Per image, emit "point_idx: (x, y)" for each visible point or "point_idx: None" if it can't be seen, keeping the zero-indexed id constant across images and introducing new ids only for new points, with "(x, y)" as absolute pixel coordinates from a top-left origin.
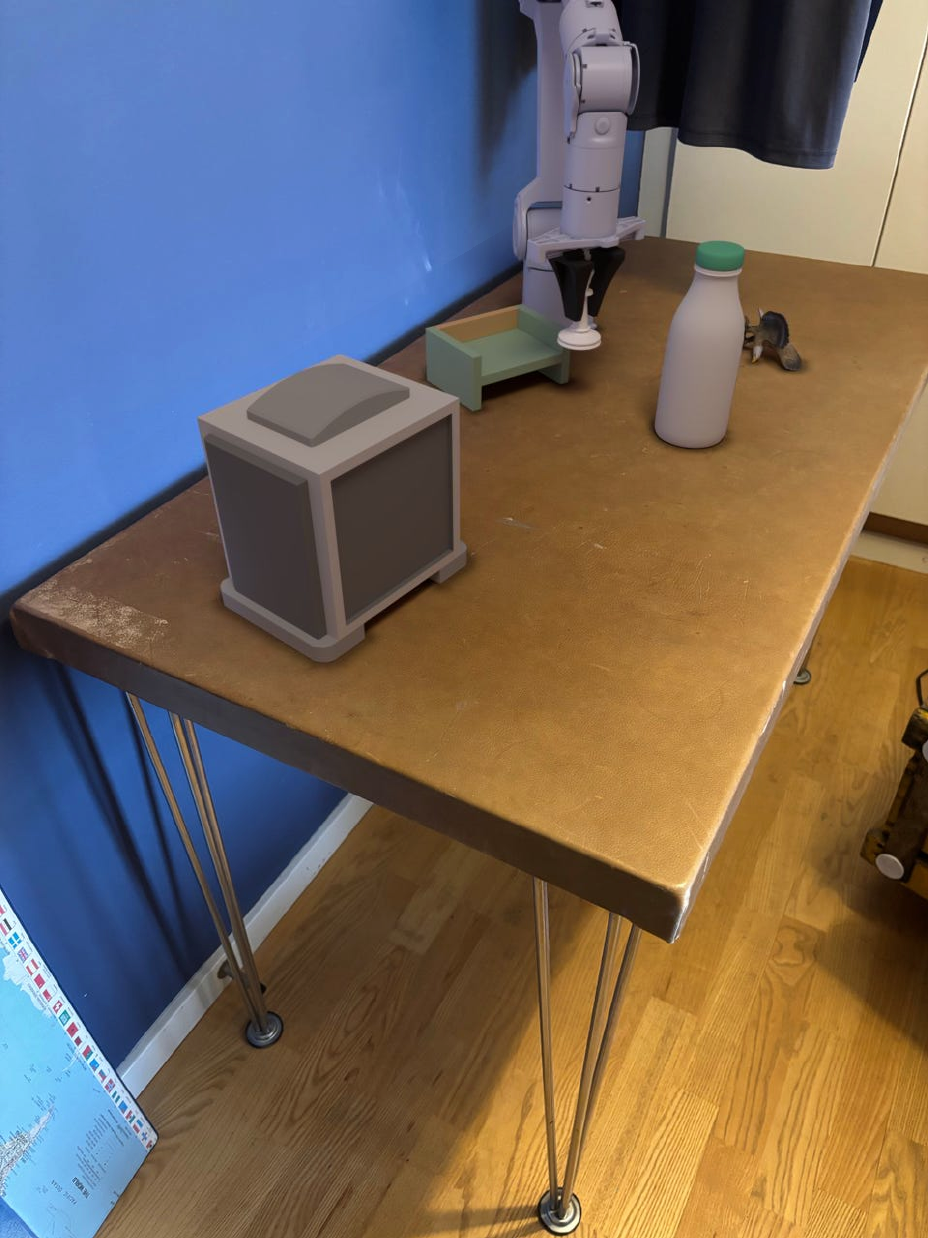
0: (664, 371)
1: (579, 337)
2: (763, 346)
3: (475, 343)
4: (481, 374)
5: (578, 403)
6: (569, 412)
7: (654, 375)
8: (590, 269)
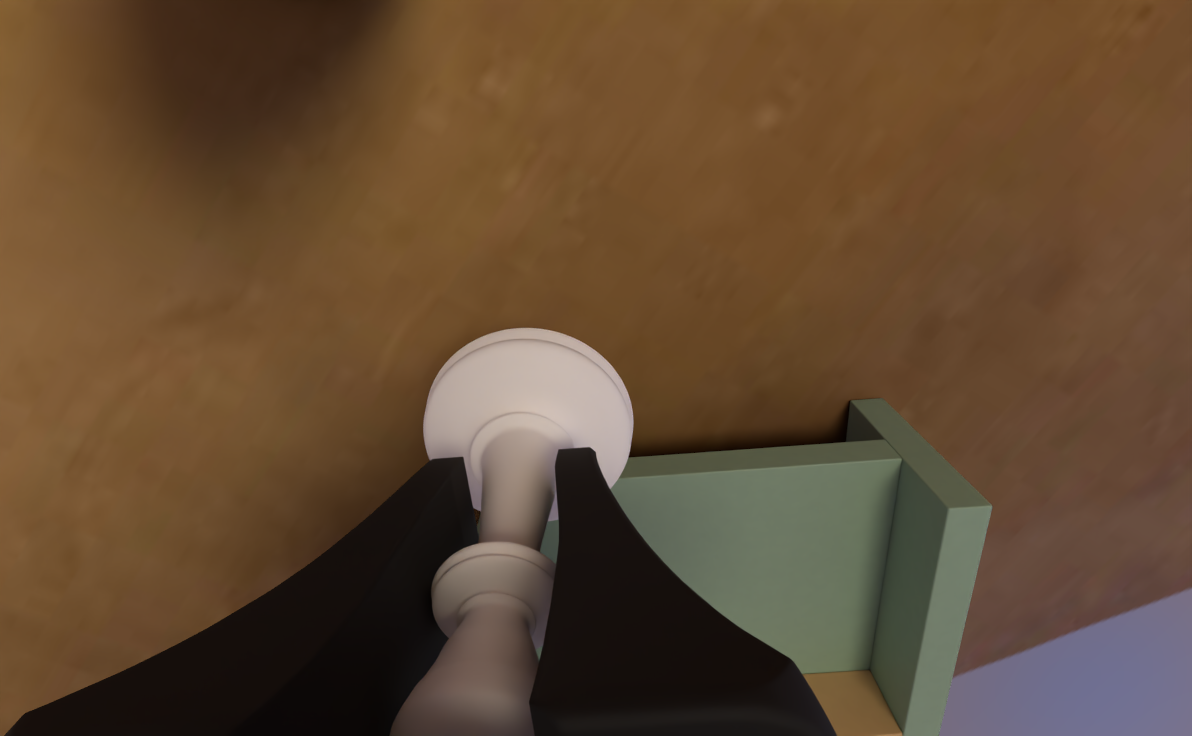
0: None
1: (564, 398)
2: None
3: None
4: (909, 461)
5: (557, 286)
6: (623, 246)
7: (193, 334)
8: (575, 663)
